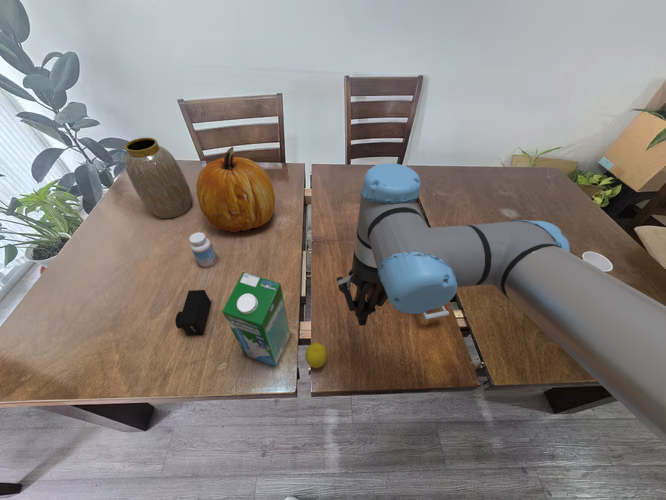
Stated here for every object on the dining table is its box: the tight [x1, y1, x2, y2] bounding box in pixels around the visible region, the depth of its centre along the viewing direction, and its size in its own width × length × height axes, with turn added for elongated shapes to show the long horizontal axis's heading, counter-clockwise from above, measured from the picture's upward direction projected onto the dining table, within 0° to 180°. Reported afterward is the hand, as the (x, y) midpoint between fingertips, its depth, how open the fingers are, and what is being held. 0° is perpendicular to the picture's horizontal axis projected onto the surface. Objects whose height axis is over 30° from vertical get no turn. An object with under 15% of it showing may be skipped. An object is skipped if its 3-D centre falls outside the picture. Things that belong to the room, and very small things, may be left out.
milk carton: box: [221, 271, 291, 367], centre depth 65 cm, size 9×9×25 cm
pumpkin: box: [196, 146, 276, 233], centre depth 97 cm, size 26×23×30 cm
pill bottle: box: [188, 231, 218, 268], centre depth 89 cm, size 6×6×11 cm
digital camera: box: [174, 289, 212, 337], centre depth 76 cm, size 10×5×7 cm, turn 5°
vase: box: [124, 137, 193, 219], centre depth 101 cm, size 17×17×27 cm
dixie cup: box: [580, 251, 614, 273], centre depth 88 cm, size 8×8×11 cm
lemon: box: [304, 342, 328, 369], centre depth 68 cm, size 6×6×8 cm
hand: (361, 320), depth 64 cm, fingers closed
